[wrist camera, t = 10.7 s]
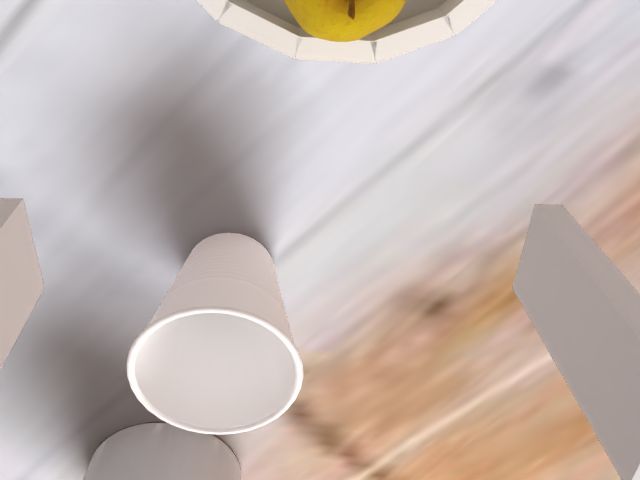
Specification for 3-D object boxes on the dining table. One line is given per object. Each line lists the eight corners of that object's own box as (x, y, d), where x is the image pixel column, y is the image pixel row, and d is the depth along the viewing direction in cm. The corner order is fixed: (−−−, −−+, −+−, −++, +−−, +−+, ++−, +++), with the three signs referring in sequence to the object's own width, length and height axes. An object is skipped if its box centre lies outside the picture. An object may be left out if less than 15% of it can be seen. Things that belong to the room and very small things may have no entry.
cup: (186, 184, 39) (155, 283, 30) (322, 235, 42) (332, 341, 33) (144, 295, 44) (105, 410, 35) (268, 334, 47) (264, 451, 37)
